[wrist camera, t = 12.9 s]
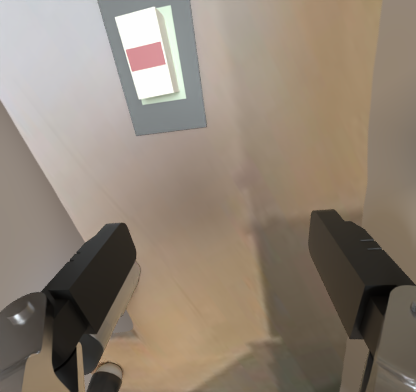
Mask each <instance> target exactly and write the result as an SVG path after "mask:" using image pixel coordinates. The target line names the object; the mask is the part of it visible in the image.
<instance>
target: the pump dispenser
mask: <svg viewBox="0 0 416 392" xmlns="http://www.w3.org/2000/svg"><path fill="white" fill-rule="evenodd" d="M121 384H122V371H121V369H120V367H119V366H118V365H116V364H113V363H106V364H103V365H102V366H100V367H99V368H98V369H97V371H96V372H95V373H94V374H93V376H92V378H91V381H90V383H89V386H88V389H87V392H118V391H119V389H120V387H121Z"/></svg>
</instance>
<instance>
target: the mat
mask: <svg viewBox="0 0 416 392" xmlns="http://www.w3.org/2000/svg"><path fill="white" fill-rule="evenodd" d="M97 1H98V4H99V8H100V11H101V15H102V18H103V22H104V25H105V29H106V32H107V36H108V39H109V43H110V46H111V50H112V53H113V57H114V60H115V64H116V67H117V71H118V74H119V78H120V81H121V85H122V88H123V92H124V95H125V99H126V102H127V106H128V109H129V113H130V116H131V120H132V123H133V127H134V130H135V134H136V136H138V135H146V134H154V133H162V132H170V131H178V130H186V129H194V128H202V127H207V124H206V116H205V109H204V101H203V94H202V87H201V79H200V72H199V64H198V57H197V49H196V42H195V34H194V27H193V20H192V12H191V5H190V0H97ZM151 7H155V8H156V9H157V10H158V11H159V12H160V13H161V14H162V15H163V16H164V19H165V23H166V28H167V33H168V38H169V42H170V47H171V52H172V56H173V61H174V66H175V71H176V75H177V80H178V85H179V90H180V92H175V93H170V94H165V95H160V96H155V97H149V98H144V99H139V98H138V95H137V91H136V88H135V85H134V81H133V78H132V74H131V71H130V68H129V64H128V61H127V57H126V54H125V51H124V47H123V44H122V40H121V37H120V34H119V30H118V27H117V23H116V20H115V17H117V16H121V15H125V14H129V13H132V12H136V11H140V10H144V9H147V8H151Z"/></svg>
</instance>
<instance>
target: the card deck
mask: <svg viewBox="0 0 416 392" xmlns="http://www.w3.org/2000/svg"><path fill="white" fill-rule="evenodd" d="M115 20H116V23H117V27H118V30H119V34H120V37H121V40H122V44H123V47H124V51H125V54H126V57H127V61H128V64H129V68H130V71H131V74H132V78H133V81H134V85H135V88H136V91H137V95H138V98H139V99H144V98H149V97H155V96H160V95H165V94H170V93H175V92H180V90H179V85H178V80H177V75H176V71H175V66H174V61H173V56H172V52H171V47H170V42H169V38H168V33H167V28H166V23H165V19H164V16H163V15H162V14H161V13H160V12H159V11H158V10H157V9H156V8H155V7H151V8H147V9H144V10H140V11H136V12H132V13H129V14H125V15H121V16H117V17H115Z"/></svg>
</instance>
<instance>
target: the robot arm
mask: <svg viewBox="0 0 416 392" xmlns="http://www.w3.org/2000/svg"><path fill="white" fill-rule="evenodd" d="M308 245H309V251H310V255H311V258H312V260H313V262H314V264H315V266H316V268H317V270H318V272H319V275H320V277H321V279H322V281H323V283H324V285H325V287H326V290H327V292H328V294H329V296H330V298H331V300H332V302H333V304H334V307H335V309H336V311H337V313H338V315H339V317H340V319H341V322H342V324H343V326H344V328H345V330H346V332H347V334H348V336H349V339H364V341H365V343H366V345H367V346H368V348H369V352H368V354H367V359H366V363H365V367H364V371H363V375H362V380H361V384H360V388H359V392H416V285H415V284H414V283H413V282H412V280H410V278H409V277H408V276H407V275H406V274H405V273H404V272H403V271H402V270H401V268H399V266H398V265H397V264H396V263H395V262H394V261H393V260H392V259H391V258H390V256H388V255H387V253H386V252H385V251H384V250H382V249H381V247H380V246H379V245H378V243H377V242H376V241H374V239H373V238H372V237H371V236H370V235H369V234H368V233H367V231H366V230H365V229H363V228H362V227H360V226H358V225H356V224H355V223H353V222H351V221H346V222H345V221H344V220H343V219H342V218H341V216H340V215H339V214H338V213H337V212H336V211H335V210H334V209H331V210H316V211H312V213H311V220H310V230H309V240H308ZM135 260H136V249H135V246H134V243H133V241H132V238H131V235H130V233H129V230H128V227H127V225H126V224H125V223H112V224H106V225H105V226H104V227H103V228H102V229H101V230H100V231H99V232H98V233H97V235H96V236H94V237H93V238H91V239H90V240H89V241H87V242H86V243H85V244H84V245H83V246H82V247H81V248H80V249H79V250H78V251H77V254H75V255H74V256H73V257H72V258H71V259H70V262H67V263H66V264H65V266H64V267H63V268H62V269H61V270H60V271H59V272H58V273H57V274H56V276H55V277H54V278H53V279H52V280H51V281H50V282H49V283H48V285H47V286H46V287H45V288H44V289H43V290H42V291H41V292H34V293H30V294H27V295H25V296H22V297H21V298H19V299H17V300H15V301H13V302H12V303H10V304H9V305H8V306H7V307H5V308H4V309H3V310H2V311H1V312H0V392H85V385H84V375H86V374H89V373H91V372H92V371H93V370H94V369H95V368H96V366H97V365H98V363H99V361H100V358H101V356H102V354H103V352H104V350H105V348H106V345H107V343H108V341H109V339H110V337H111V335H112V332H113V330H114V328H115V326H116V324H117V322H118V320H119V318H120V317H121V316H122V315H123V314H124V311H125V309H126V307H127V305H128V303H129V301H130V299H131V296H132V294H133V292H134V290H135V288H136V285H137V283H138V281H139V279H138V277H139V275H140V267H139V265H138V263H137V262H136V261H135Z"/></svg>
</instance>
